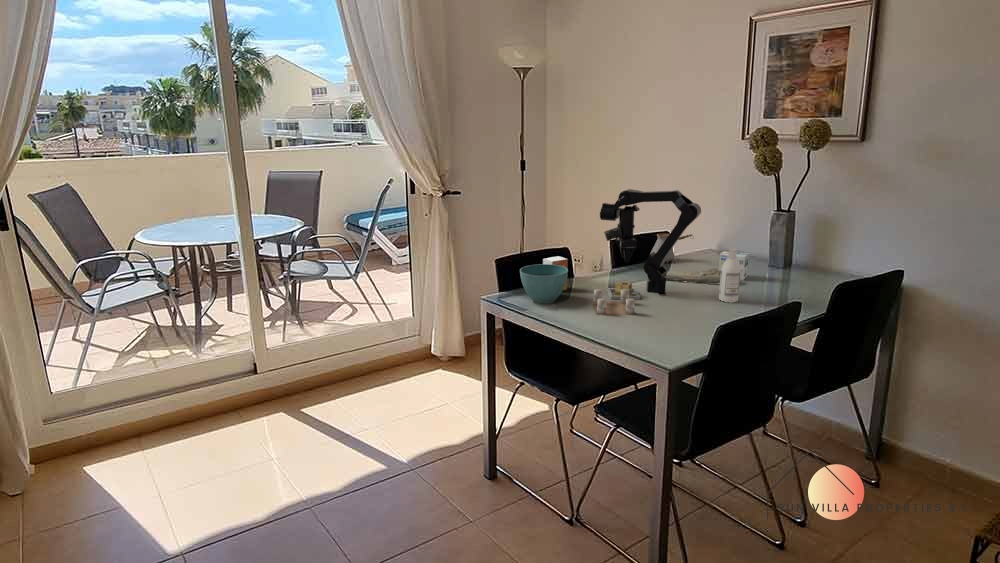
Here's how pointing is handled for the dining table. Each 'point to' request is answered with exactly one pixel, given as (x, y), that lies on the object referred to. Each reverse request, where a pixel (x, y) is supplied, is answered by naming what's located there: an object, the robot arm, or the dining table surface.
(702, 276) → the elongated rock
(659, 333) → the dining table surface
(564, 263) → the small box
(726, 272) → the bath foam
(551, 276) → the teal bowl
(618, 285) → the nut
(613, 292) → the tray
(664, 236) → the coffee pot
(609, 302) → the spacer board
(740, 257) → the light bulb box
